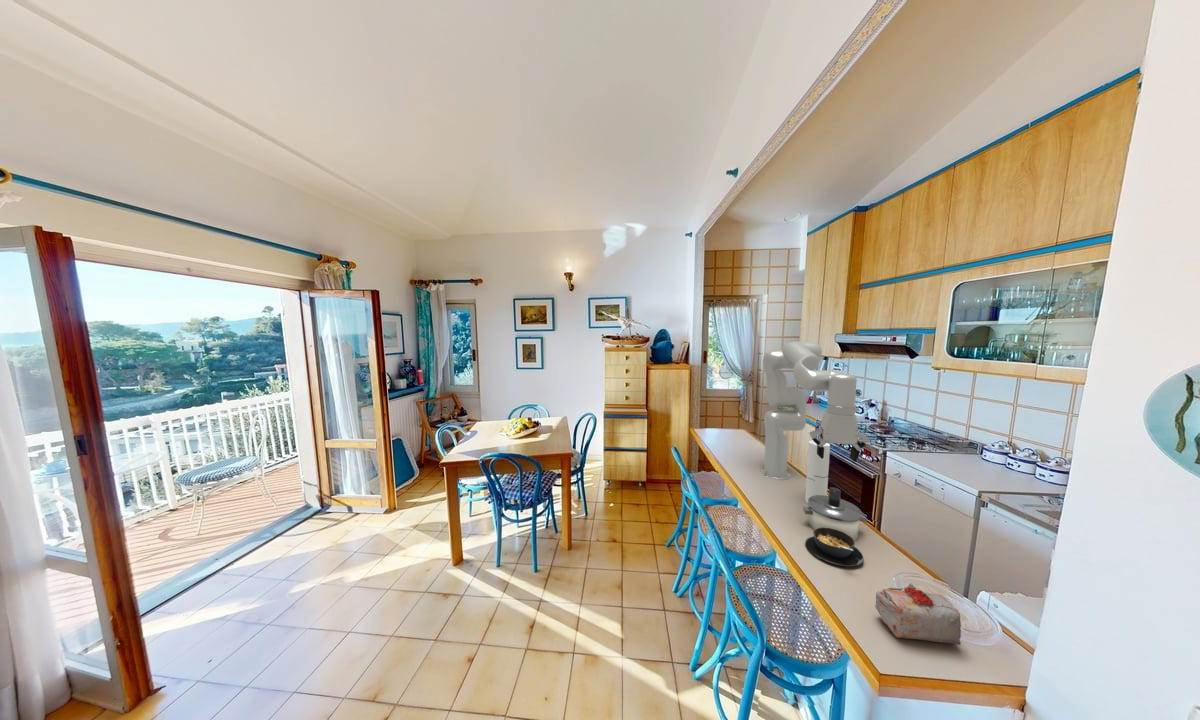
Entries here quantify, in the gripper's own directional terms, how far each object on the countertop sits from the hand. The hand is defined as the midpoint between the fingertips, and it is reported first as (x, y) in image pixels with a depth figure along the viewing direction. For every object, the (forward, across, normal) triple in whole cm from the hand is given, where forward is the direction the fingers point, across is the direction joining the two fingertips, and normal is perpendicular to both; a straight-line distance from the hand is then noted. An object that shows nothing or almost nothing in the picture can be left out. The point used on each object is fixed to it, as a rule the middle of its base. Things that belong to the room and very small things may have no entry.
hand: (836, 458), depth 114 cm
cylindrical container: (+26, 0, -17) cm, 31 cm away
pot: (+25, 0, +1) cm, 25 cm away
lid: (+18, 0, 0) cm, 18 cm away
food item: (+25, -3, +41) cm, 48 cm away
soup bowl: (+26, +5, +15) cm, 30 cm away
